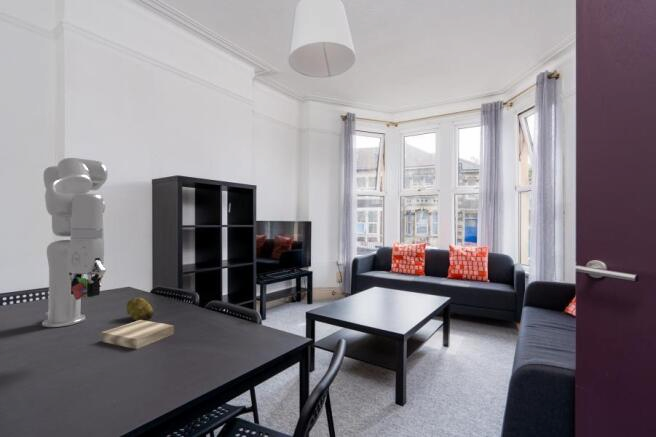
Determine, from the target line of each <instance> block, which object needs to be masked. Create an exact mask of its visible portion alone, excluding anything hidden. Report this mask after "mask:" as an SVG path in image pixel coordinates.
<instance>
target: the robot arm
mask: <svg viewBox="0 0 656 437" xmlns="http://www.w3.org/2000/svg"><path fill="white" fill-rule="evenodd" d="M108 175H109V173H108V168H107V166H106V165H105V164H104V163H103V162H102V161H99V160H92V159H86V158H85V159H84V158H77V157H67V158H64V159H63V158H62V159H61V160H60V161H59V162H58V164H57V165H56V166H48V167H46V168H45V169H44V171H43V183H44V188H45V189H46V190H45V194H44V201H45V207H46V211H47V213H48V215H50V216H51V229H52V233H53V234H54V235H55V236H57V237H64V238H70V239H60V240H54V241H52V242H50V243H49V244H48V245H47V246H46V258H47V263H48V264H47V265H48V305H47V306H48V311H46V312H45V315H46V316H47V319H45V320H43V321H42V323H41V326H42V327H44V328H58V327H59V328H60V327H65V326H66V327H67V326H71V325H76V324H79V323H82V322H83V321H85V320H86V315H84V314H81V306H82V305H81V304H82V303H81V302H82V301H81V300H82V297H81V298H80V300H79V299H78V300H76V298H75V297H74V295H73V291H71V287H73V286H74V285H77V283H78V284H79V281H78V279H77V277H79V278H84V276H85V275H86V276H87V279H88V280H89V283H87V298H91V297H92V296H94V297H96V296H99V295H100V289H101V287H100V282H101V283H102V278H103V277H104V275H105V273H106V272H107V269H106V267H104V263H105V262H104V256H105V237H104V234H105V232H104V213H105V210H106V202H105V200H104V198H103V196H102V195H100V194H97V193H89V192H90V191H97V190H99V189H101V187H102V186H103V185H104V184H105V183H106V181H107V180H108ZM93 276H94V277H93ZM75 280H76V281H75ZM74 281H75V283H74Z"/></svg>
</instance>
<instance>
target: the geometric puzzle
mask: <svg viewBox="0 0 656 437" xmlns="http://www.w3.org/2000/svg"><path fill="white" fill-rule="evenodd" d="M92 277H94V275H92ZM77 279H78V281H79V284H78V283H77V285H74V286H73V287H71V291H73V295H74V297H75V298H76V300H78V299H79V300H80V298H81V299H84V298H85V297H87V283H89V280H88V276H87V275H86V276H85V277H83V278H79V277H77ZM75 281H76V280H75ZM75 281H74V283H75ZM101 287H103V284H102V281H101V282H100V288H101ZM88 299H95V296H92V297H87V300H88Z"/></svg>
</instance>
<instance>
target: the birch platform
mask: <svg viewBox="0 0 656 437" xmlns="http://www.w3.org/2000/svg"><path fill="white" fill-rule="evenodd" d="M174 330H175V325H173V324H168V323H161V322H155V321H149V320H147V321H145V320H139V321H136V320H134V321H132V322H130V323H126V324H123V325H119V326H118V327H114V328H111V329H108V330H103V331H101V338H100V340H101V343H105V344H111V345H116V346H120V347H125V348H129V349H135V350H138V349H140V348H143V347H146V346H148V345H150V344H152V343H155V342H158V341H160V340H162V339H164V338H168V337H171V336H172V335H174V332H175V331H174Z"/></svg>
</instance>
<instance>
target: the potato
mask: <svg viewBox="0 0 656 437" xmlns="http://www.w3.org/2000/svg"><path fill="white" fill-rule="evenodd" d="M125 309H126V312H127V314H128V315H129V316H130V318H131V319H132V320H134V321H139V320H145V321H149V320H151V319H152V318H153V316H154V314H155V311H154V309H153V307H152V306H151V303H150V302H148V301H147V300H146V299H145V298H143V297H134V298H132V299H130V300H128V302H127V303H126V308H125Z"/></svg>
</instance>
